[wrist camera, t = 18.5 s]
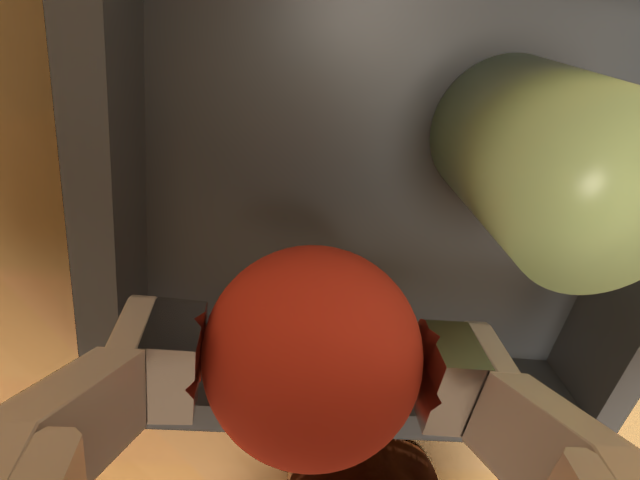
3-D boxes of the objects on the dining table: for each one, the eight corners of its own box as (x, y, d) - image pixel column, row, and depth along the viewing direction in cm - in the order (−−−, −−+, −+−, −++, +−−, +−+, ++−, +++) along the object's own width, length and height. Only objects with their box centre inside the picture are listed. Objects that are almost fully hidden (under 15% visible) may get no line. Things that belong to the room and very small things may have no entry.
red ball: (219, 199, 10) (187, 330, 7) (413, 219, 11) (491, 349, 7) (209, 356, 13) (180, 527, 9) (374, 365, 13) (418, 527, 9)
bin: (122, 342, 16) (85, 426, 13) (97, -187, 10) (15, -264, 7) (552, 371, 18) (607, 448, 15) (761, -44, 12) (925, -54, 9)
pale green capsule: (454, 40, 12) (557, 74, 8) (598, 66, 12) (773, 111, 8) (413, 188, 14) (477, 284, 9) (540, 205, 14) (657, 303, 10)
